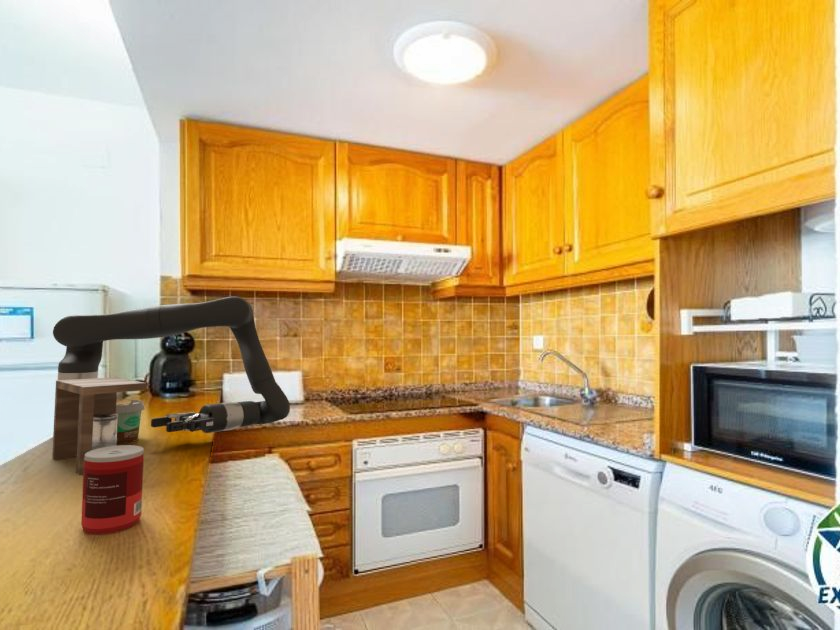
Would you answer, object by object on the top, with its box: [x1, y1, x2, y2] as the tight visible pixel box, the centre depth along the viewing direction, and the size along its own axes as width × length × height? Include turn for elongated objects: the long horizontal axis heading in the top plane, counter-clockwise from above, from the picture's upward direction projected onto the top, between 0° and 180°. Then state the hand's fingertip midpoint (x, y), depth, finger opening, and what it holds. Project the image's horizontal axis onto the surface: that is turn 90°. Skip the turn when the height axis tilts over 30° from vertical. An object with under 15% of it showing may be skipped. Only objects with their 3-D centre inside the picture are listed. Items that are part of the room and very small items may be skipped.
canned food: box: [80, 444, 145, 535], centre depth 71 cm, size 8×8×11 cm
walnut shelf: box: [51, 376, 148, 475], centre depth 105 cm, size 18×12×18 cm, turn 52°
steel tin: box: [92, 413, 118, 450], centre depth 106 cm, size 5×5×10 cm
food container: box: [116, 399, 145, 445], centre depth 124 cm, size 12×6×10 cm, turn 179°
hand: (159, 425), depth 115 cm, fingers open, 8 cm apart
